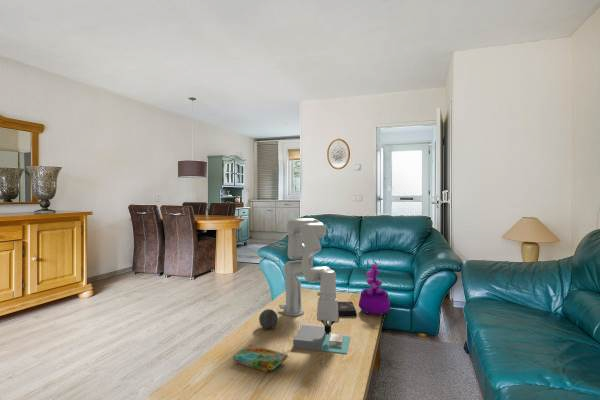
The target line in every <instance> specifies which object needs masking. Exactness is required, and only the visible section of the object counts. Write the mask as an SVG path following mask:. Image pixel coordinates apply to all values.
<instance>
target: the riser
mask: <svg viewBox="0 0 600 400" xmlns="http://www.w3.org/2000/svg"><path fill="white" fill-rule="evenodd" d="M326 335H327V334H326V332H325V326H317V325H305V324H301V327H300V328H299V330H298V331H297V333H296V335H294V337H293V340H292V341H293V343H292V345H293V346H292V348H294V349H299V350H300V349H301V350H309V351H317V352H322V351H321V348H322V345H323V343H324V340H325V338H326Z"/></svg>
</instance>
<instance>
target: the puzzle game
mask: <svg viewBox="0 0 600 400" xmlns="http://www.w3.org/2000/svg"><path fill="white" fill-rule="evenodd" d="M288 357H289V355H288V353H283V352H280V351H276V350H272V349H269V348H266V347H262V346H259V345H254V344H249V345H247V346H246V347H244V348H242V349H241V350H240V351H238V352H236V353H235V354H233V356H232V359H233V361H235V362H236V363H237V364H238V363H239V364H238V365H242V366H245V367H249V368H251V369H252V368H253V369H256V370H259V371H262V372H266V373H267V372H268V371H273V370H275V369H276V367H278V366H279V365H281V364H282V363H283V362H284V361H285V360H286V359H288Z"/></svg>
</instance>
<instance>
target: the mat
mask: <svg viewBox="0 0 600 400" xmlns="http://www.w3.org/2000/svg"><path fill="white" fill-rule="evenodd" d="M330 337H331V333H330V334H329V335H328V334H327V335H326V338H325V340H324V343H323V345H322V348H321V351H320V352H327V353H334V354H343V355H347V354H348V349H349V347H350V346H349V345H350V341H351V336H348V335H344V341H343V344H342V347H335V346H329V340H330Z"/></svg>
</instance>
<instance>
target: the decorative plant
mask: <svg viewBox="0 0 600 400" xmlns="http://www.w3.org/2000/svg"><path fill="white" fill-rule="evenodd" d="M370 267H371V269H370V270H367V271H366V273H365V275H366V277H367V279H366V283H367V285H369V286H370V288H365V289H362V290H361V291H360V296H359V297H360V298H359V301H358V307H359V309H360V310H361V311H362V312H364V313H366V314H369V315H375V316H376V315H377V316H378V315H384V314H387V313H388V312H389V311H390V310H391V303H390V300H389V293H388V291H386V290H383V289H382V287H381V286H382V285H383V281H382V280H381V279H377V275H379V273H380V272H379V269H378V268H379V267H378V264H376V263H372V264H371V266H370Z"/></svg>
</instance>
